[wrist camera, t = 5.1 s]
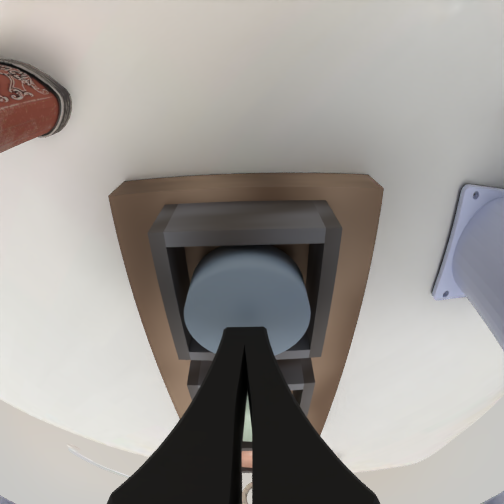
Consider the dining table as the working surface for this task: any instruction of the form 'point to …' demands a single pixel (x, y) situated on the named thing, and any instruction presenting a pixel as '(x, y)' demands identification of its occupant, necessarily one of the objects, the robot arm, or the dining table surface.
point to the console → (251, 233)
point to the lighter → (29, 104)
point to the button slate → (247, 296)
